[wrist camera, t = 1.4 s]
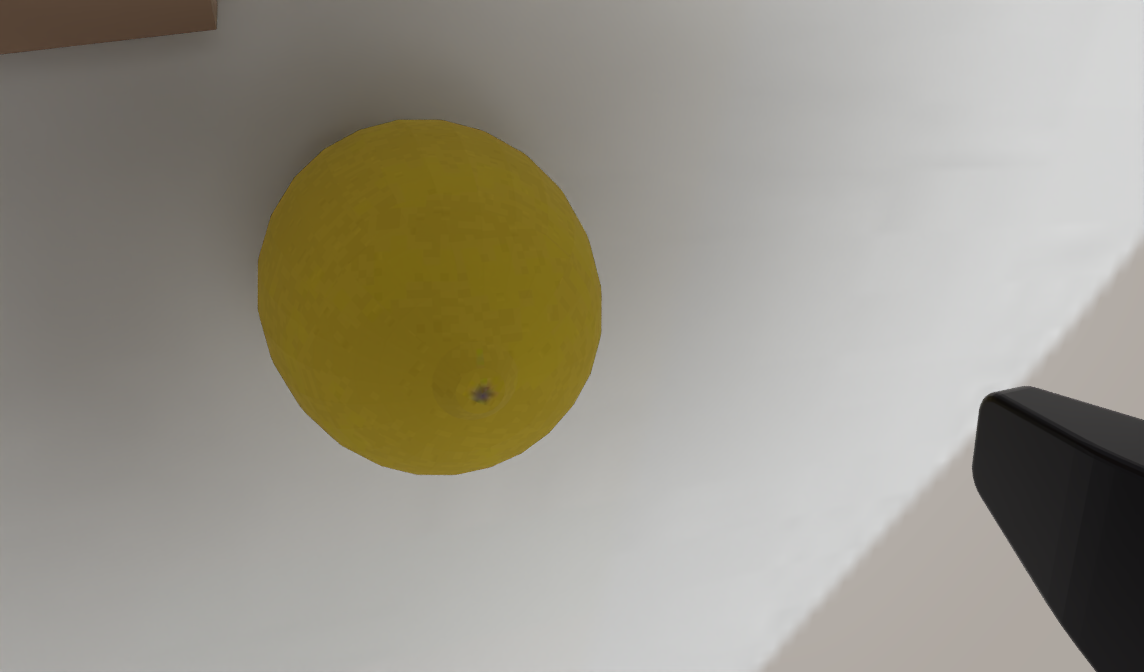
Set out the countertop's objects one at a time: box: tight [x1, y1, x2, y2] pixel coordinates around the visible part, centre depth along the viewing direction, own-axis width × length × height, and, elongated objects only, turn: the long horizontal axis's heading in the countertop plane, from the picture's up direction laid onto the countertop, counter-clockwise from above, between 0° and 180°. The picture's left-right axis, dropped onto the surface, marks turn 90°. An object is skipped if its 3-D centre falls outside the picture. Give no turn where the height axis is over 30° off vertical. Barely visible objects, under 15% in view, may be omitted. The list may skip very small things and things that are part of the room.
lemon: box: [258, 120, 602, 475], centre depth 17 cm, size 6×6×8 cm
